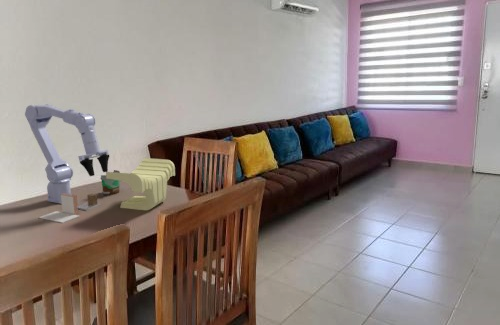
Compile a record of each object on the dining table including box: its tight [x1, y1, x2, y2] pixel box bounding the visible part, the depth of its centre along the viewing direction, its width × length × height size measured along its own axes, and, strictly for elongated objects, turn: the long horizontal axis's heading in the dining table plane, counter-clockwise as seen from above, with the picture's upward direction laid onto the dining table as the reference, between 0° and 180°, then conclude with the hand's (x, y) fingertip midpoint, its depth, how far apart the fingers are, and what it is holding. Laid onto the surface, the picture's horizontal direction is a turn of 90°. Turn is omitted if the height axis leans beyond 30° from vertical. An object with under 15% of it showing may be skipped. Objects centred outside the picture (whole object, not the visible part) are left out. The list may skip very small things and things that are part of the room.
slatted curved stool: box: [105, 157, 176, 211], centre depth 172 cm, size 30×16×18 cm, turn 165°
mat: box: [38, 210, 80, 224], centre depth 157 cm, size 13×8×1 cm, turn 66°
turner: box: [77, 193, 101, 211], centre depth 170 cm, size 8×6×5 cm
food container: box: [100, 169, 121, 196], centre depth 191 cm, size 12×6×10 cm, turn 168°
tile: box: [61, 193, 79, 215], centre depth 161 cm, size 7×2×8 cm, turn 66°
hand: (99, 173), depth 168 cm, fingers open, 7 cm apart
